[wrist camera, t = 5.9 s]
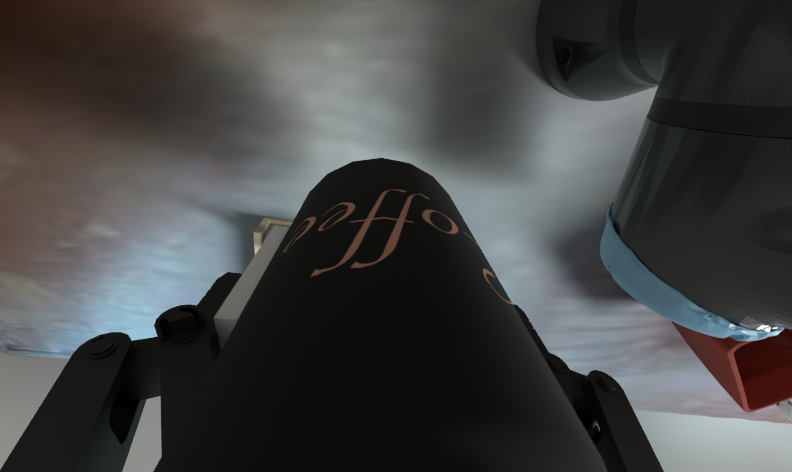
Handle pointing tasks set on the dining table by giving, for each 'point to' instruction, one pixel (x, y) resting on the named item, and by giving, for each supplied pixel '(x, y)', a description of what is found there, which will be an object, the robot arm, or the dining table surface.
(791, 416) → the spread jar
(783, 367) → the plant pot
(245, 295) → the robot arm
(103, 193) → the dining table surface
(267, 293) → the coffee jar
